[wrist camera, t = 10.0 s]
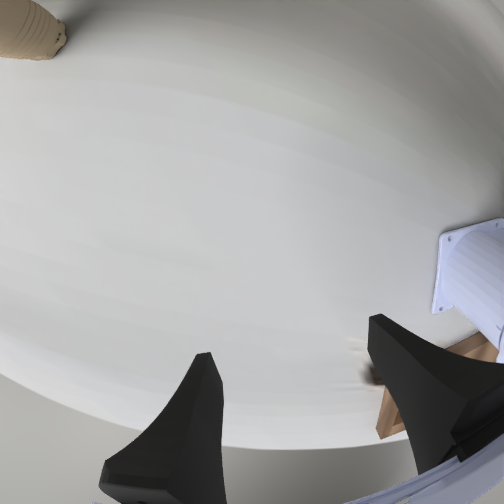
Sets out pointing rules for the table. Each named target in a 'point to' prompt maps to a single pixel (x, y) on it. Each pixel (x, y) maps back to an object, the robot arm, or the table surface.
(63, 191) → the table surface
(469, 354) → the slotted walnut block
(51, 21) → the handle
